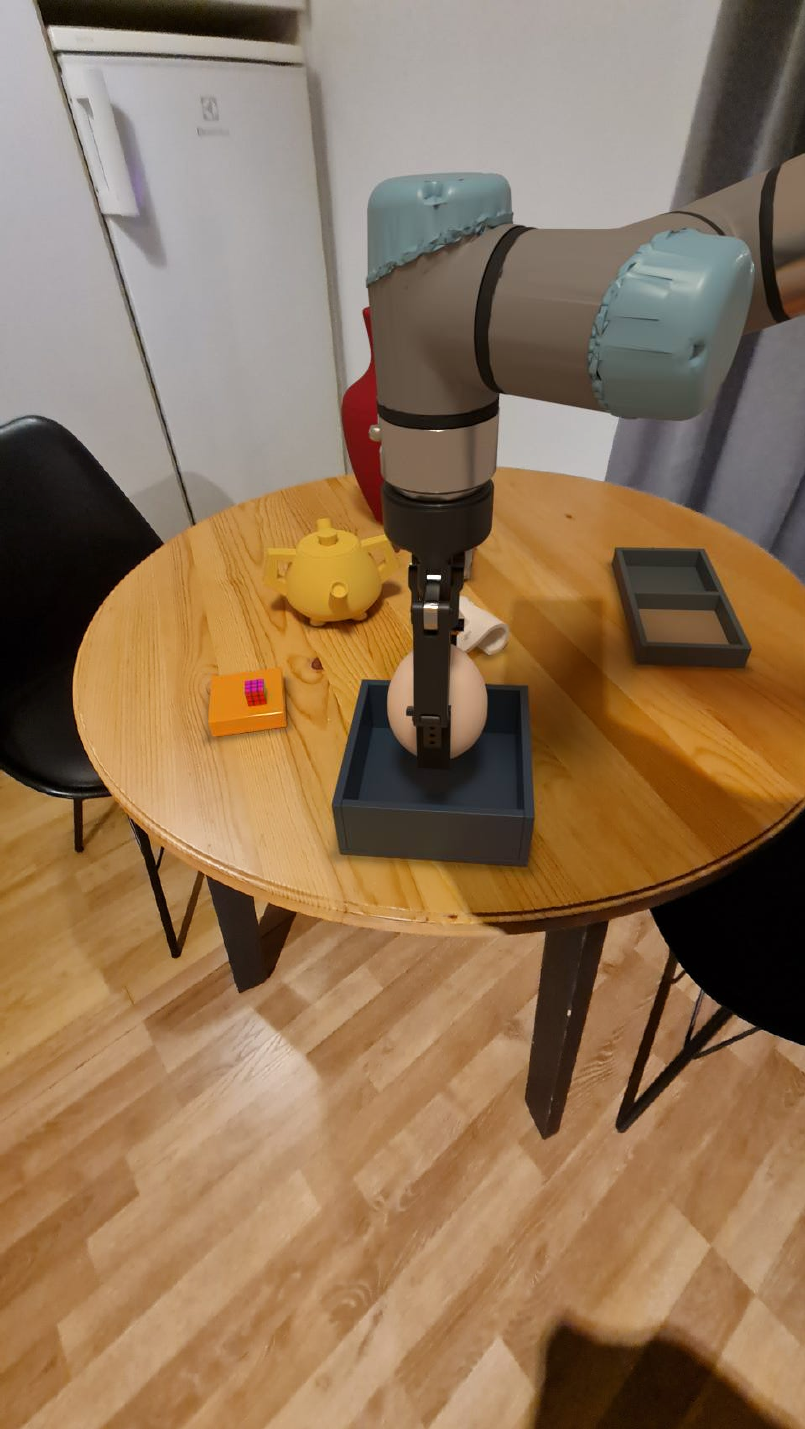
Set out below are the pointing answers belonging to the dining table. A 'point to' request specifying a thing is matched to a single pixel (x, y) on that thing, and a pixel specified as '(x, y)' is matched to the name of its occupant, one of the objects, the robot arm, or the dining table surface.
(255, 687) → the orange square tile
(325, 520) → the teapot
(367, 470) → the vase
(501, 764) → the tub
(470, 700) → the egg
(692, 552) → the tray
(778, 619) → the dining table surface
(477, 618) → the plastic part
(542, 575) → the dining table surface
